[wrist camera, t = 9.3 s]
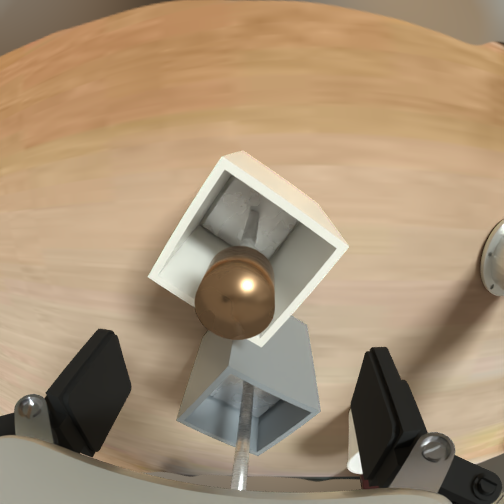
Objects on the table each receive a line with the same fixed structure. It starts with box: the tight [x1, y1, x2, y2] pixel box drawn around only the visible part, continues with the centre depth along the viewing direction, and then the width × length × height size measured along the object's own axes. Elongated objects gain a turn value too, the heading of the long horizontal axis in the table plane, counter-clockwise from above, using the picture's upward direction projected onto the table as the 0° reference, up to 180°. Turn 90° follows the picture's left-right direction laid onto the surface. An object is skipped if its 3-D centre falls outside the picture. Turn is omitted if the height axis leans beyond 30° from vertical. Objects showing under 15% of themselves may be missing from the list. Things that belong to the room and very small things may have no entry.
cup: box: [347, 409, 363, 474], centre depth 40 cm, size 10×10×11 cm
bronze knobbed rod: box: [194, 177, 298, 340], centre depth 24 cm, size 8×8×19 cm
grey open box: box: [176, 316, 321, 456], centre depth 33 cm, size 10×10×15 cm
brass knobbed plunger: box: [210, 374, 280, 490], centre depth 22 cm, size 8×8×19 cm
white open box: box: [148, 151, 349, 347], centre depth 28 cm, size 10×10×15 cm
